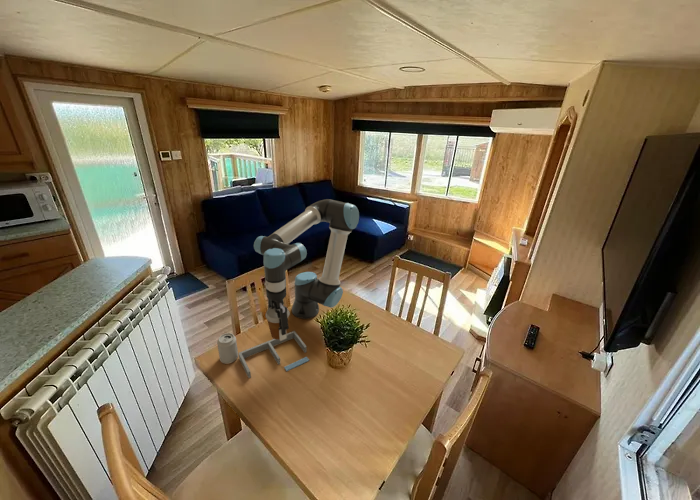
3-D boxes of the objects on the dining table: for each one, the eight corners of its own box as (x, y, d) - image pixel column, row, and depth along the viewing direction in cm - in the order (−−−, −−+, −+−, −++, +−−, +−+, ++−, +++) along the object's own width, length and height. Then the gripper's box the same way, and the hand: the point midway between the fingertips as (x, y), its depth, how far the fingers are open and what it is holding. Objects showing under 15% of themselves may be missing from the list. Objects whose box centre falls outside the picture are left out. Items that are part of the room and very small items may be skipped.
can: (241, 353, 127) (238, 332, 122) (233, 366, 120) (230, 345, 115) (225, 350, 127) (222, 330, 122) (216, 363, 121) (213, 342, 116)
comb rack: (294, 336, 139) (294, 330, 138) (306, 352, 130) (306, 346, 129) (239, 358, 124) (238, 352, 122) (248, 378, 115) (247, 372, 114)
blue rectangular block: (306, 357, 127) (306, 356, 127) (309, 360, 126) (309, 359, 126) (284, 367, 121) (284, 366, 121) (286, 371, 120) (286, 370, 119)
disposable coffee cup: (262, 336, 116) (259, 313, 110) (278, 323, 123) (276, 301, 118) (279, 345, 112) (278, 322, 106) (295, 331, 119) (294, 309, 114)
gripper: (257, 277, 113) (261, 321, 123) (277, 304, 98) (280, 352, 108) (274, 272, 117) (277, 315, 127) (297, 298, 102) (298, 344, 112)
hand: (278, 332), depth 117 cm, fingers closed on disposable coffee cup, 8 cm apart
